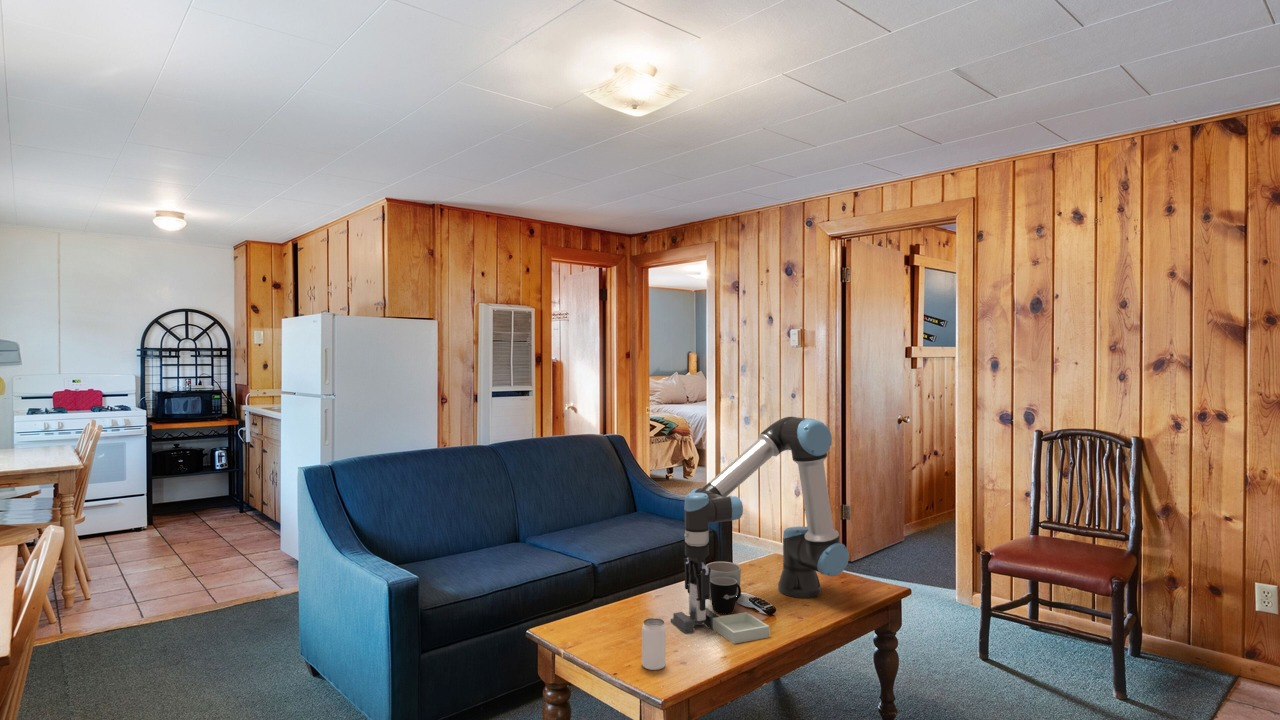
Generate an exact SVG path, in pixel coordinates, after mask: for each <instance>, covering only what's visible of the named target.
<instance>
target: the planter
mask: <svg viewBox="0 0 1280 720" xmlns="http://www.w3.org/2000/svg"><path fill="white" fill-rule="evenodd" d="M706 567H707V568H710V569H711V572H710V580H711V579H712V578H714V577H730V578H733V579H735V580H736V581H737V584H738V585H739V586H740V587H741V577H742V574H741V573H742V567H741V565H739V564H737V563H734V562H729V561H713V562H709V563H707V564H706ZM737 595H738V587H737ZM710 599H711V593H710Z"/></svg>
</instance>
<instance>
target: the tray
mask: <svg viewBox="0 0 1280 720" xmlns="http://www.w3.org/2000/svg"><path fill="white" fill-rule="evenodd" d="M712 630H714V631H715V632H716V633H718V634H719V635H721V636H722V637H723V638H725V639H726V640H727V641H729V642H731V643H732V644H733V645H734V644H741V643H746V642H750V641H756V640H762V639H767V638H770V625H768V624H767V623H764V621H762V620H760V619H758V618H757V617H756V616H754V615H752V614H751V613H749V612H747V611H745V612H739V613H731V614H725V615H721V616H720V615H719V617H717V618H713V629H712Z"/></svg>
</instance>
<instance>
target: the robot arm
mask: <svg viewBox="0 0 1280 720" xmlns="http://www.w3.org/2000/svg"><path fill="white" fill-rule="evenodd" d="M832 443H833V436H832V433H831V431H830V429H829V427H828V426H827V424H825V423H824V422H823V421H820V420H817V419H814V418H807V417H796V416H787V417H783V418H780V419H778V420H777V421H775V422H773V423H772V424H771V425H769V426H768V427H766V428H765V429H764V430H763V431H761V433H760V434H758V435H757V440H756V441H754V442H753V443H752V444H751V445H750V446H749V447H748V448H746V449H745V450H744V451H743V452H742V453H741V454H740V455H739V456H738V457H736V458H735V459H734V460H733V461H732V462H730V464H728V465H727V466H726V467H725V468H724V469H723V470H722V471H721V472H718V474H716V475H715V477H714V478H712V479H711V480H709V482H708V483H706V484H705V485H704V486H703V487H697V488H696V487H695V488H694V489H692V490H691V491H690V492H689V493H688V494H686V495H685V496H684V505H683V507H684V508H683V510H684V534H683V537H684V542H685V544H684V556H685V557H684V558H683V565H684V589H685V590H687V593H688V616H690V582H695V581H696V582H697V591H698V598H697V599H696V600H697V621H701V620H706V608H707V606H706V601H708V600H711V598H710V572H711V569H710V568H707V567H706V565H707V564H706V558H708V556H709V555H710V550H709V549H710V548H709V547H710V546H709V545H710V544H709V541H710V538H709V537H710V536H709V535H710V532H709V531H710V529H709V526H710V524H713V523H720V522H733V521H735V520H740V519H741V517H742V516H743V514H744V506H743V505H744V504H743V502H742V500H741V498H740V497H738V496H737V495H735V496H732V495H730V494H732V493H733V492H734V491H735V490H736V489H737V488H738V487H740V485H741V484H742V483H744V482H745V481H746V480H747V479H749V478H750V477H751V476H752V475H753V474H754V473H755V472H756V471H757V470H759V469H760V468H761V467H762V466H763V465H764V464H765V463H767V461H768V460H770V459H771V458H772V457H777V456H779V455H780V454H781V453H783V452H784V451H788V450H789V451H791V457H792V461H793V462H794V463H796V464H797V467H798V474H799V479H800V487H801V492H802V493H801V494H802V498H803V506H804V512H805V514H804V515H805V518H806V519H805V520H806V526H790V527H786V528H785V529H784V530H783V537H782V550H783V551H782V554H783V555H782V561H783V562H782V571H781V574H780V577H779V581H778V583H777V588H778V589H777V590H778V592H779V593H781V594H782V595H784V596H788V597H793V598H799V599H810V598H815V597H818V596H820V595H821V594H822V586H821V583H820V580H819V577H818V573H819V574H821V575H824V576H828V577H836V576H838V575H840V574H841V573H842V572H844V571H845V569H846V567H847V566H848V563H849V559H850V552H849V549H848V547H847V546H846V545H845V544H844V543H841V539H840V534H839V531H838V530H837V529H835V528H834V523H833V516H832V510H831V503H830V497H829V489H828V483H827V477H826V476H827V475H826V470H825V464H824V463H825V460H826V459H827V458H828V452H829V451H830V449H831V446H832Z"/></svg>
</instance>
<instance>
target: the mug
mask: <svg viewBox="0 0 1280 720" xmlns="http://www.w3.org/2000/svg"><path fill="white" fill-rule="evenodd" d="M737 587H738V595H737ZM710 593H711V598H710V601H711V606H712V610H713V612H714V613H715V614H717V615H732V614H733V613H734V610H735V607H736V603H737V601H738V600H740V598H741V595H742V588H741V585H740V586H739V585H738V584H737V581H736V580H735V579H733V578H730V577H714V578H712V579H711V580H710ZM736 596H737V597H736Z"/></svg>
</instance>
